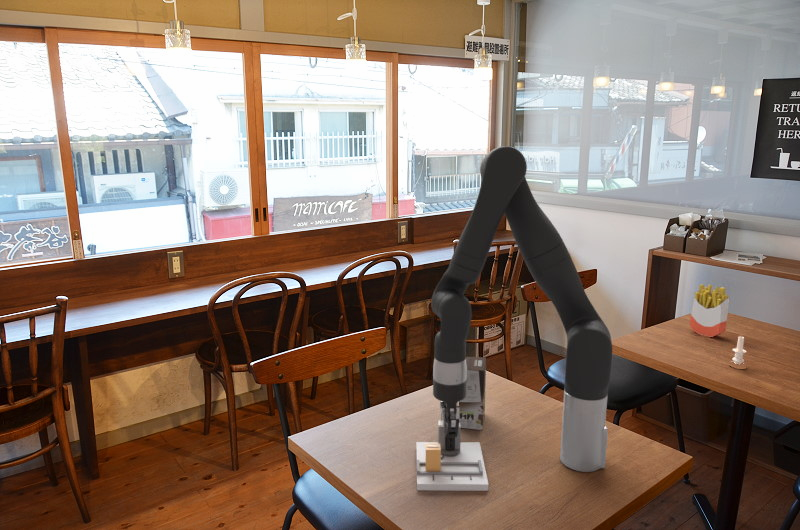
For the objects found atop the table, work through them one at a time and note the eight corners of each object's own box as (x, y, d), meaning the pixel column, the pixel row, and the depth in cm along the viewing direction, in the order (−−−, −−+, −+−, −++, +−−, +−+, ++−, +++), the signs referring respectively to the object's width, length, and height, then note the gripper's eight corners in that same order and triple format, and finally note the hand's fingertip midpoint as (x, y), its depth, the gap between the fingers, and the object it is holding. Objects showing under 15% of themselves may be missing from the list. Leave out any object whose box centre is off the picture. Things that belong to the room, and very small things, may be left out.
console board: (479, 448, 143) (479, 438, 142) (488, 490, 126) (488, 480, 126) (416, 447, 143) (416, 438, 143) (417, 490, 127) (417, 479, 126)
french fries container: (717, 340, 212) (723, 291, 208) (688, 331, 221) (693, 284, 216) (724, 337, 214) (730, 289, 210) (695, 329, 223) (701, 282, 219)
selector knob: (459, 444, 141) (459, 417, 140) (461, 456, 136) (461, 428, 135) (437, 444, 141) (437, 417, 140) (438, 456, 136) (438, 428, 135)
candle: (750, 369, 187) (754, 338, 184) (733, 369, 187) (737, 338, 184) (741, 363, 192) (745, 332, 189) (724, 363, 192) (728, 332, 190)
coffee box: (483, 430, 151) (484, 370, 147) (457, 428, 152) (458, 368, 149) (485, 413, 160) (487, 356, 156) (461, 411, 161) (462, 355, 157)
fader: (439, 464, 133) (440, 442, 132) (440, 471, 130) (440, 449, 129) (425, 464, 133) (425, 442, 132) (425, 471, 130) (425, 449, 129)
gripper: (472, 389, 128) (470, 462, 132) (461, 363, 142) (460, 430, 146) (437, 390, 128) (436, 463, 132) (429, 364, 141) (429, 431, 145)
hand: (448, 445), depth 139 cm, fingers closed on selector knob, 2 cm apart
